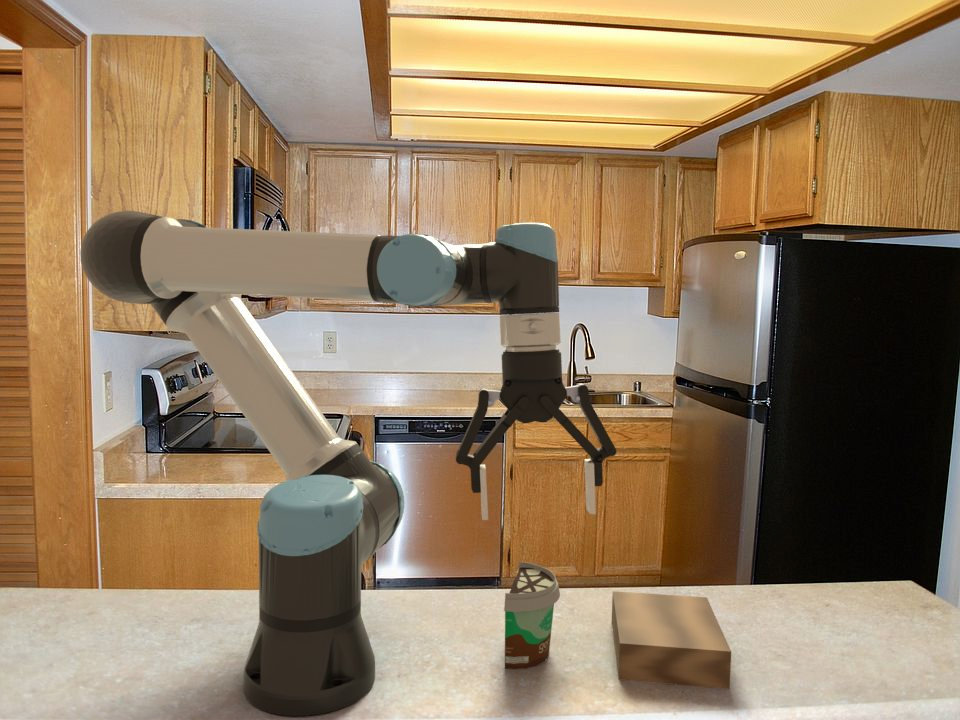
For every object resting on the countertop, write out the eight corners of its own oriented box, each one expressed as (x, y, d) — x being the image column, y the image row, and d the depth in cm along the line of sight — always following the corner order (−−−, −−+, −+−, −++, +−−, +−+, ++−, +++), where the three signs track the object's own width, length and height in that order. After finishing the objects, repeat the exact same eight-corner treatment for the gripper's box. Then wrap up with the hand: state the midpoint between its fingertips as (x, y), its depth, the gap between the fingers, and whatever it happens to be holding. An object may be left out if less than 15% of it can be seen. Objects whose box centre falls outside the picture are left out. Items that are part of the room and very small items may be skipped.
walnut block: (618, 683, 89) (619, 643, 88) (611, 625, 105) (612, 591, 104) (729, 691, 87) (731, 651, 87) (705, 631, 103) (706, 597, 103)
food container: (553, 680, 88) (555, 600, 87) (502, 674, 89) (504, 594, 89) (562, 635, 100) (564, 564, 99) (517, 630, 101) (519, 560, 101)
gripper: (430, 355, 88) (439, 528, 90) (636, 345, 89) (642, 517, 90) (432, 351, 96) (441, 511, 97) (622, 342, 96) (628, 501, 98)
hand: (538, 514), depth 94 cm, fingers open, 13 cm apart
